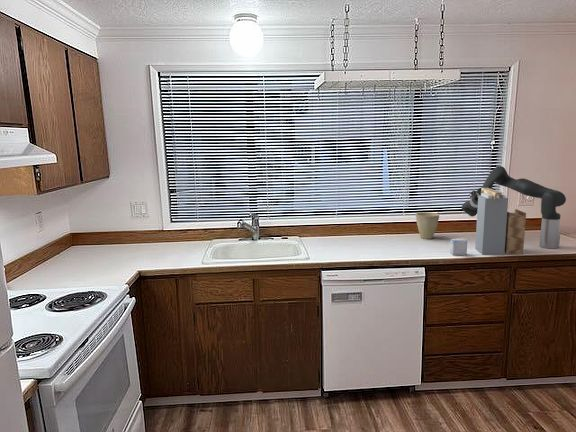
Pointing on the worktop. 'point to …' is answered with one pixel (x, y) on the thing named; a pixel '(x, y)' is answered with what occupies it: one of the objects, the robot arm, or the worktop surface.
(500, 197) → the bar
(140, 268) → the worktop surface
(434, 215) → the plant pot
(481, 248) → the slot column
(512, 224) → the block
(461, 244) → the medicine box
